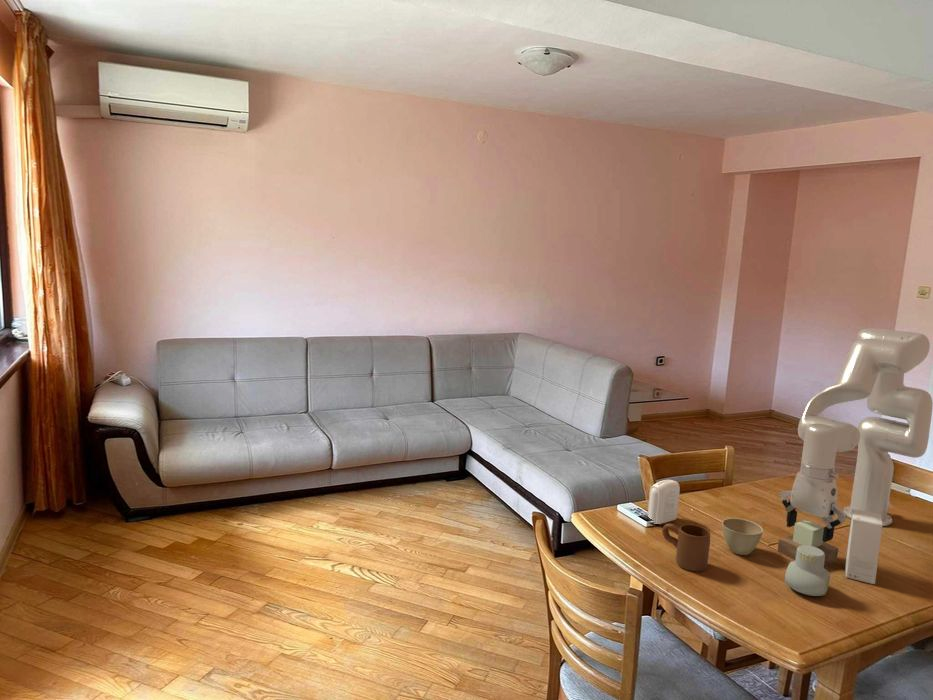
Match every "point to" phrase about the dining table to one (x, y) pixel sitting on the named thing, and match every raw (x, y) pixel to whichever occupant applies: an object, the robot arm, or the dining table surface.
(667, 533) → the mug
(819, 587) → the air freshener
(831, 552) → the brown flat block
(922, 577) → the dining table surface
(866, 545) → the skincare box
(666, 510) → the photo printer
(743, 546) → the flower pot
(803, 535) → the sage cube
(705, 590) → the dining table surface
